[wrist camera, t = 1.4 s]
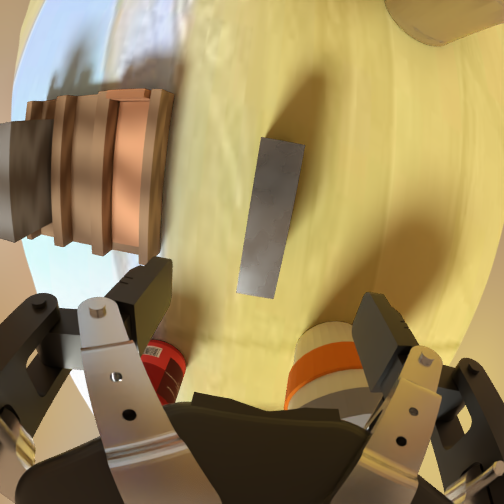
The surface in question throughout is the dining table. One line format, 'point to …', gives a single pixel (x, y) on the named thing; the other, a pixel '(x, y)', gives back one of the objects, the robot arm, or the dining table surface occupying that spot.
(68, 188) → the rack
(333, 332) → the reusable coffee cup
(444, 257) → the dining table surface
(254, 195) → the panel
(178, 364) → the canned food
